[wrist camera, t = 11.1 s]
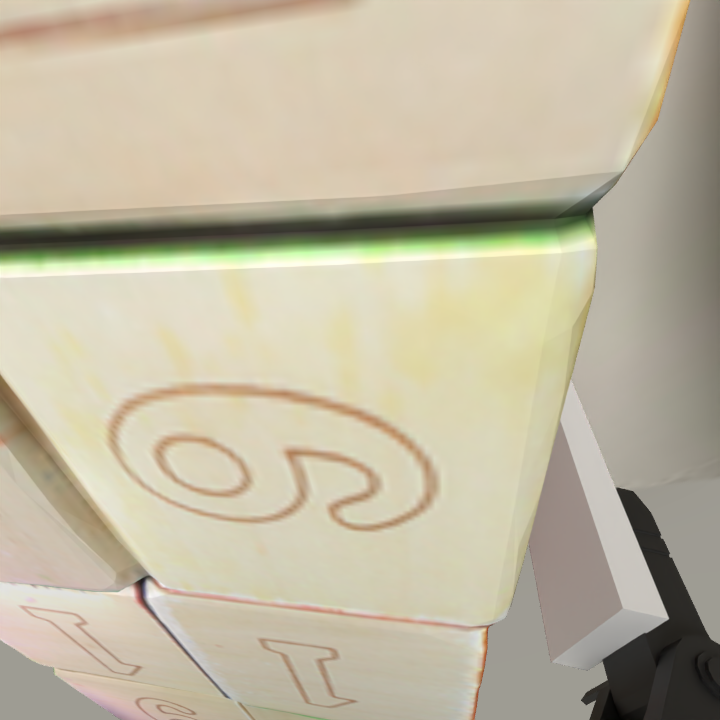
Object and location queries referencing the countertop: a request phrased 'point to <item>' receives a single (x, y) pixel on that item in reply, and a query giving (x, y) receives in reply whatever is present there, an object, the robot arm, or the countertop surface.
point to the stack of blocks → (294, 333)
